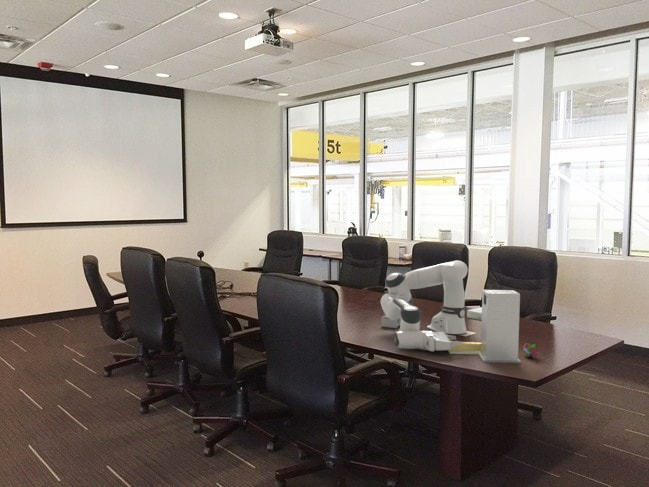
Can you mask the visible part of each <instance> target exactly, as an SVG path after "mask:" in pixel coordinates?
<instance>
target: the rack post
mask: <svg viewBox="0 0 649 487" xmlns="http://www.w3.org/2000/svg"><path fill="white" fill-rule="evenodd" d="M481 293H482V294H481V297H482V298H481V300H482V302H481V307H482V320H481V329H480V331H481V332H480V333H481V334H480V337H481V338H480V342H481V353H478V354H477V355H478V357H479V358H480V359H481V360H482V361H483V363H501V364H502V363H503V364H504V363H509V364H510V363H511V364H514V363H515V364H521V362H522V361H521V360H520V359H519V342H520V341H519V336H520V333H519V332H520V313H521V312H520V310H521V309H520V308H521V307H520V306H521V305H520V304H521V294H520V292H518V291H515V290H513V289H511V290H510V289H482V292H481Z"/></svg>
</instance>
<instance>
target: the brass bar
mask: <svg viewBox="0 0 649 487" xmlns="http://www.w3.org/2000/svg"><path fill="white" fill-rule="evenodd" d="M451 341H452V342H454V341H455V340H451ZM459 342H460V345H459V346H451V349H450V351H481V341H477V342H476V341H459Z"/></svg>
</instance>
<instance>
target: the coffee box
mask: <svg viewBox="0 0 649 487" xmlns="http://www.w3.org/2000/svg"><path fill="white" fill-rule="evenodd" d="M400 322H401V319H398V320H392V319H390V318H388V317H387V315H386V314H383V315H382V316H381V328H390V329H397V328H400Z"/></svg>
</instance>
